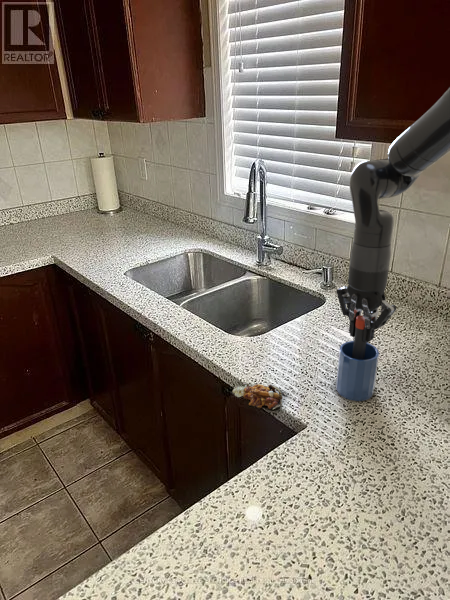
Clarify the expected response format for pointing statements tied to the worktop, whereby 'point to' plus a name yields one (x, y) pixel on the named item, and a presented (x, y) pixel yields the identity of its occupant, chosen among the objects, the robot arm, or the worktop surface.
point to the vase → (356, 372)
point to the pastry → (260, 395)
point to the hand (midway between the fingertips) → (360, 338)
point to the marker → (359, 339)
